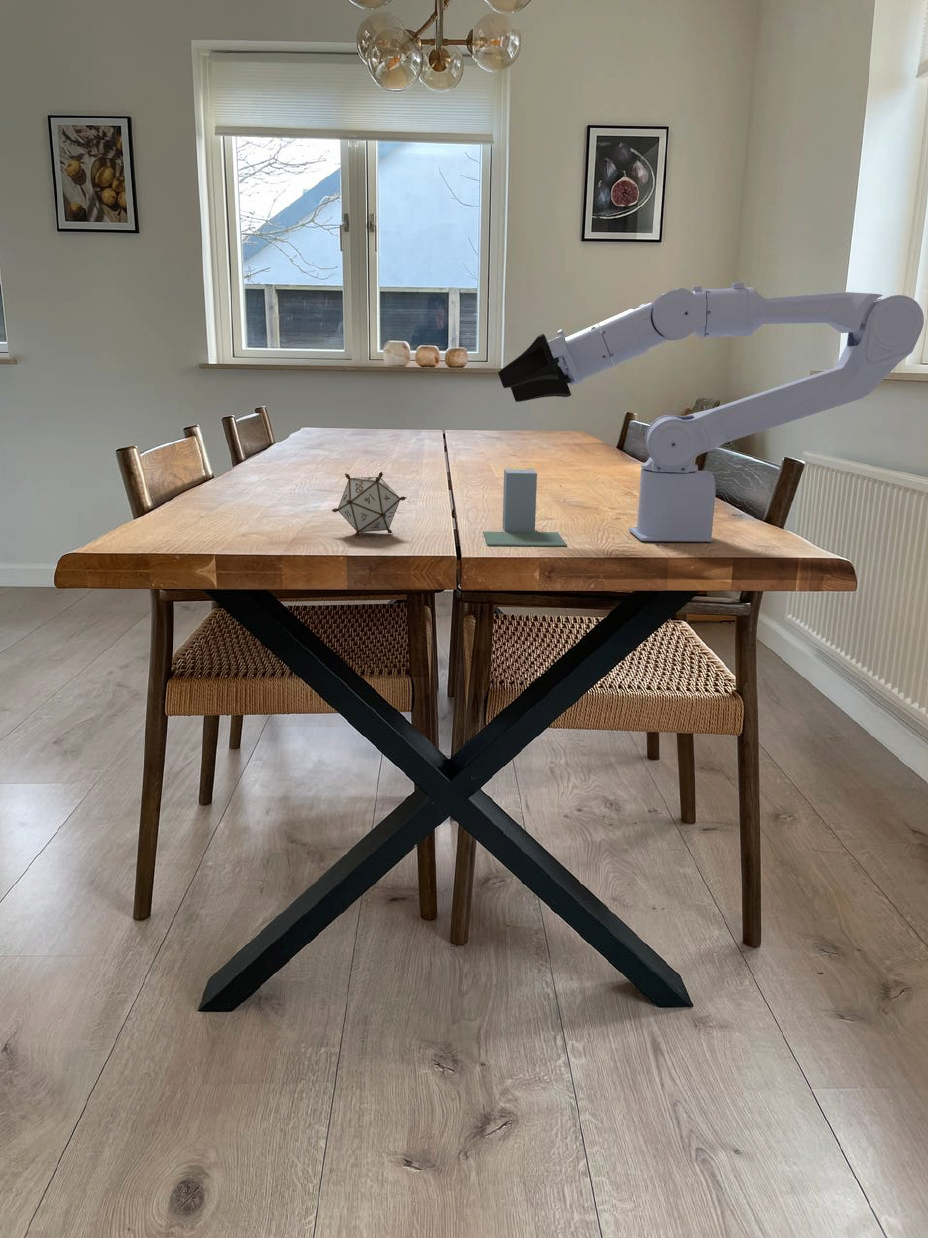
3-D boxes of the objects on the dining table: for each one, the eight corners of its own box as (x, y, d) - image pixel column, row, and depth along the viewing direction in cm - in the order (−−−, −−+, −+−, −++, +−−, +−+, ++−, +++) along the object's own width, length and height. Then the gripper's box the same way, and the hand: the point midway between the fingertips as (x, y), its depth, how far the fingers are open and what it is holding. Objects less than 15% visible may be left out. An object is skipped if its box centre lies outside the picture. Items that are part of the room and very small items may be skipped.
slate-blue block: (531, 527, 130) (533, 469, 128) (534, 533, 126) (537, 473, 124) (502, 527, 130) (504, 469, 128) (505, 532, 126) (506, 472, 124)
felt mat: (557, 533, 126) (557, 532, 126) (567, 546, 118) (567, 544, 118) (482, 532, 126) (482, 531, 126) (487, 545, 117) (487, 544, 117)
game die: (381, 564, 123) (402, 510, 116) (319, 540, 122) (336, 484, 115) (397, 521, 130) (418, 467, 122) (339, 498, 129) (356, 443, 121)
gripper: (601, 333, 127) (508, 374, 131) (587, 296, 113) (484, 343, 117) (619, 381, 127) (525, 420, 130) (607, 350, 113) (503, 395, 116)
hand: (507, 387), depth 123 cm, fingers open, 7 cm apart
